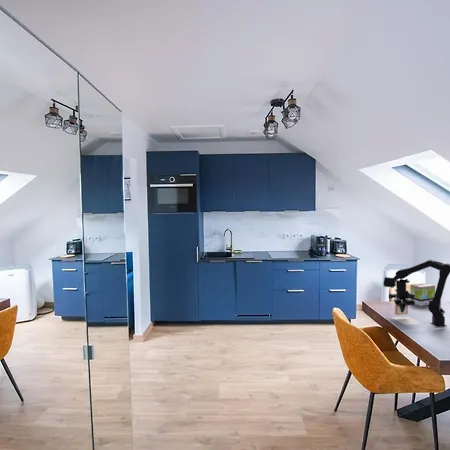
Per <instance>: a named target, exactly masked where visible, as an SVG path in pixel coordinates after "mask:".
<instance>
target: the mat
mask: <svg viewBox="0 0 450 450" xmlns="http://www.w3.org/2000/svg"><path fill="white" fill-rule="evenodd" d="M392 319H393V320H395V321H397V322H399V323H401V324H402V325H405V326H409V325H424V324H423V323H422V322H421V321H419V320H416V319H415V318H412V317H410V316H398V317H396V316H395V317H392Z"/></svg>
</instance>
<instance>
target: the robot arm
mask: <svg viewBox="0 0 450 450" xmlns="http://www.w3.org/2000/svg"><path fill="white" fill-rule="evenodd" d="M427 268H433V269H435V270H437V271H439V276H438V278H439V279H438V281H437V284H436V287H435V295H434V298H433V299H430V301H429V305H427V308H428V311H429V312H430V313H431V318H432V319H431V322H430V324H431V325H433V326H435V327H437V328H441V327H447V324H446V322H445V321H446V319H445V318H446V317H445V316H444V315H445V313H446V311H445V310H444V309H443V308H442V297H443V293H444V290H445V286H446V283H447V280H448V277H449V275H450V263H448V262H444V263H443V262H441V261H437V260H433V259H427V260H426V261H423V262H421V263H419V264H416V265H413V266H411V267H407V268H401V269H399V270H397V271H396V272H395V275H394V276H393V277H390V276H389V277H388V276H384V278H383V287H385V288H393V289H394V292H396V293H389V294H388V299H391V300H392V299H393V302H394V303H395V304H394V305H399V306H400V309H401V312H404V309H405V307H406V305H408V306H416V305H415V301H414V297H415V295H413V294H410V291H408V290H407V284H409V283H410V282H411V281H410V280H408V279H407V277H409V276H410V275H411V274H412V275H413V274H414V273H417V272H419V271H423V270H426V269H427ZM395 287H396V288H395ZM412 299H413V300H412Z"/></svg>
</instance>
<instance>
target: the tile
mask: <svg viewBox="0 0 450 450" xmlns="http://www.w3.org/2000/svg"><path fill="white" fill-rule="evenodd" d="M408 306H409V305H406V307H405V309H404V312H401V309H400V306H399V305H396V304H394V315H395V316H396V315H397V316H398V315H408V314H409V313H408V311H409V310H408V309H409V307H408Z"/></svg>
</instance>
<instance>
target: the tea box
mask: <svg viewBox="0 0 450 450" xmlns="http://www.w3.org/2000/svg"><path fill="white" fill-rule="evenodd" d="M435 292H436V285H434V284H429V283H426V282H425V283H424V282H422V283H414V284H410V290H409V293H410V294H413V295H415V297H414V301H415V305H414V306H416V305H417V306H419V307H423V306H428V305H429V301H430V299H433V298H434V295H435ZM412 300H413V299H412Z"/></svg>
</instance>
